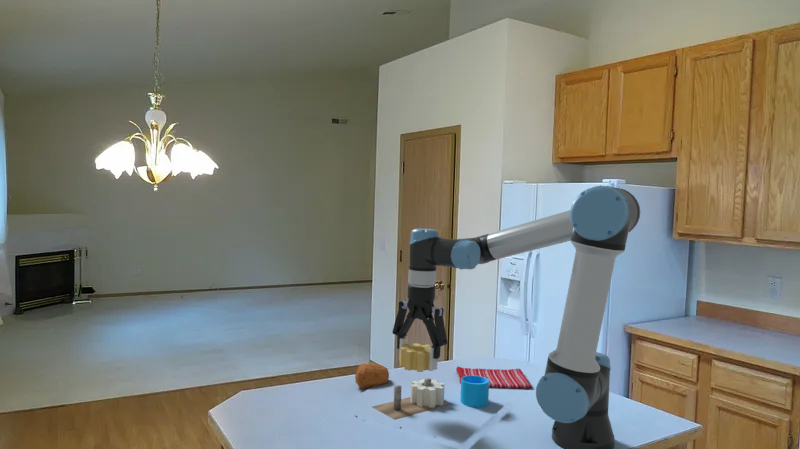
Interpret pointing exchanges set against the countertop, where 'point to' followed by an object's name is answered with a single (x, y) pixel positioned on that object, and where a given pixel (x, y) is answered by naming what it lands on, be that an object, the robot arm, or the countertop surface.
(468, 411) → the countertop surface
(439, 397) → the cream gear
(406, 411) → the walnut board
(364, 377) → the potato
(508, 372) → the dish towel
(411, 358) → the ochre gear
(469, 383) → the mug
